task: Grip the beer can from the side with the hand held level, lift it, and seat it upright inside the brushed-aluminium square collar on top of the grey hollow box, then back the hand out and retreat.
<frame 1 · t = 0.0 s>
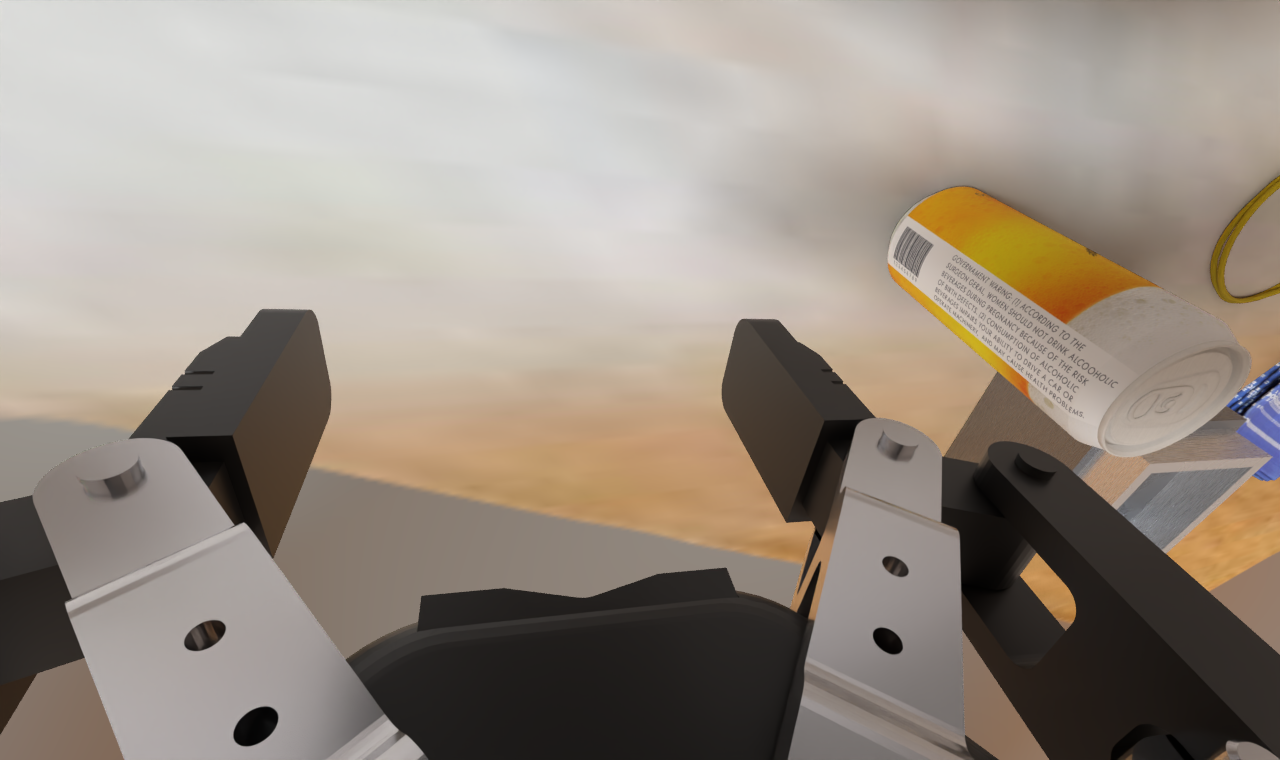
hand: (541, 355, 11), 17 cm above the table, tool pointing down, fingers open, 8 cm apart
beer can: (928, 233, 32), on the table
grey hollow box: (1034, 406, 44), on the table
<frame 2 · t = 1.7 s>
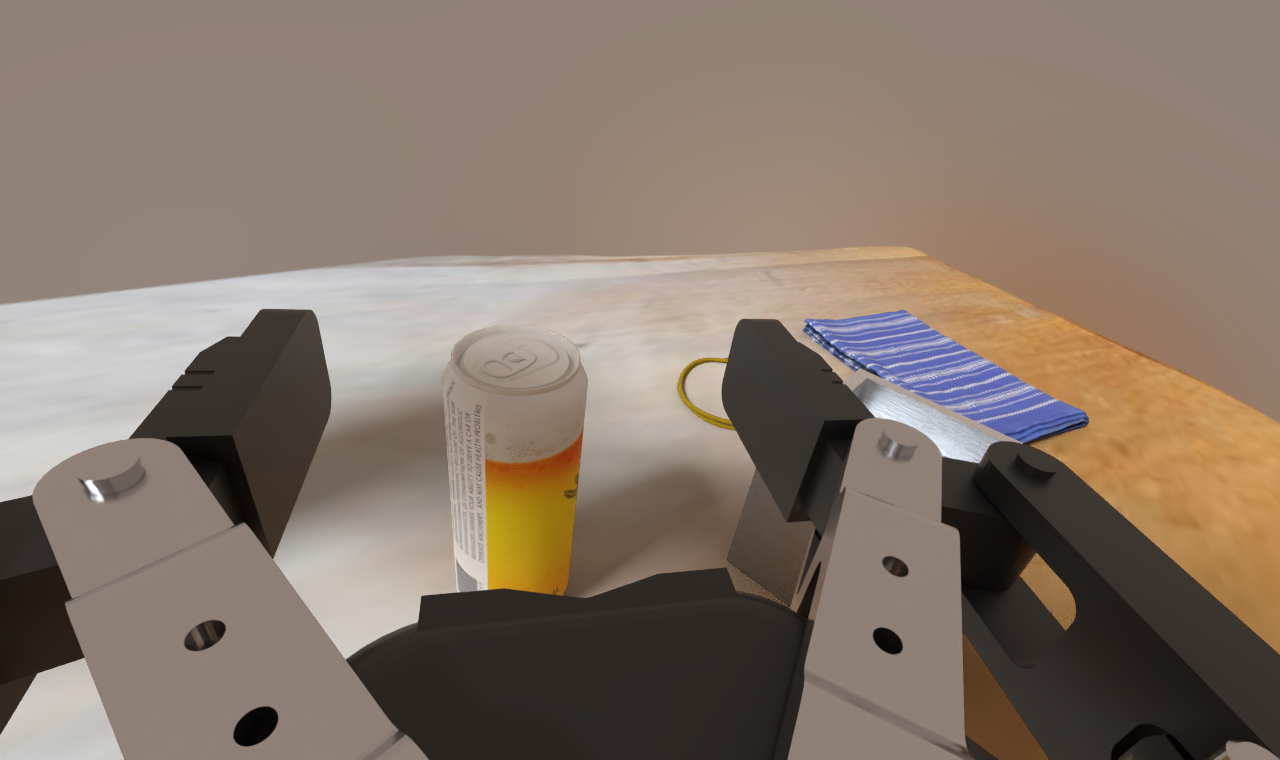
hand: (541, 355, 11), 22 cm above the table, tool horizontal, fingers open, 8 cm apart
beer can: (513, 585, 32), on the table
dish towel: (928, 381, 60), on the table
extension cord: (749, 393, 53), on the table
grey hollow box: (845, 564, 36), on the table
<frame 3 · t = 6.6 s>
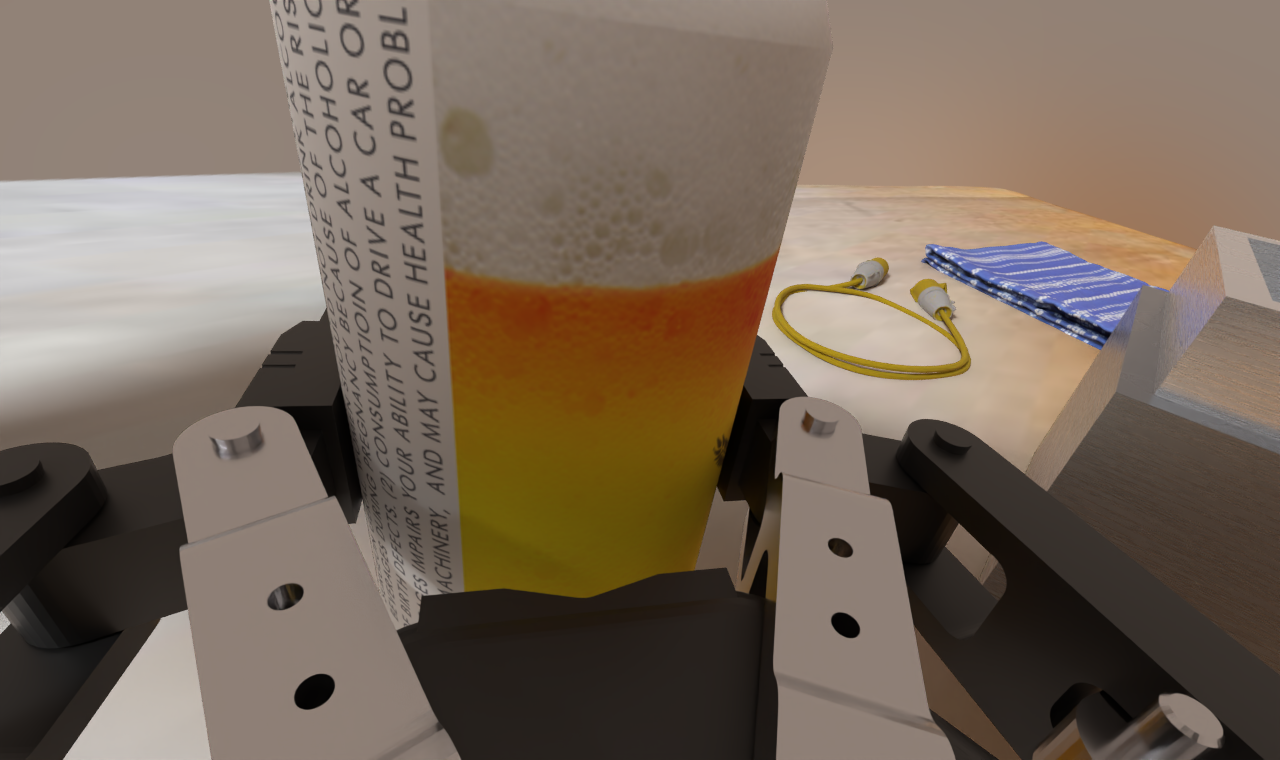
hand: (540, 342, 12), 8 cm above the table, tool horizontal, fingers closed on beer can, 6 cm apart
beer can: (536, 679, 14), on the table, touching gripper
dish towel: (1115, 324, 42), on the table
extension cord: (875, 331, 35), on the table
grey hollow box: (1188, 613, 18), on the table
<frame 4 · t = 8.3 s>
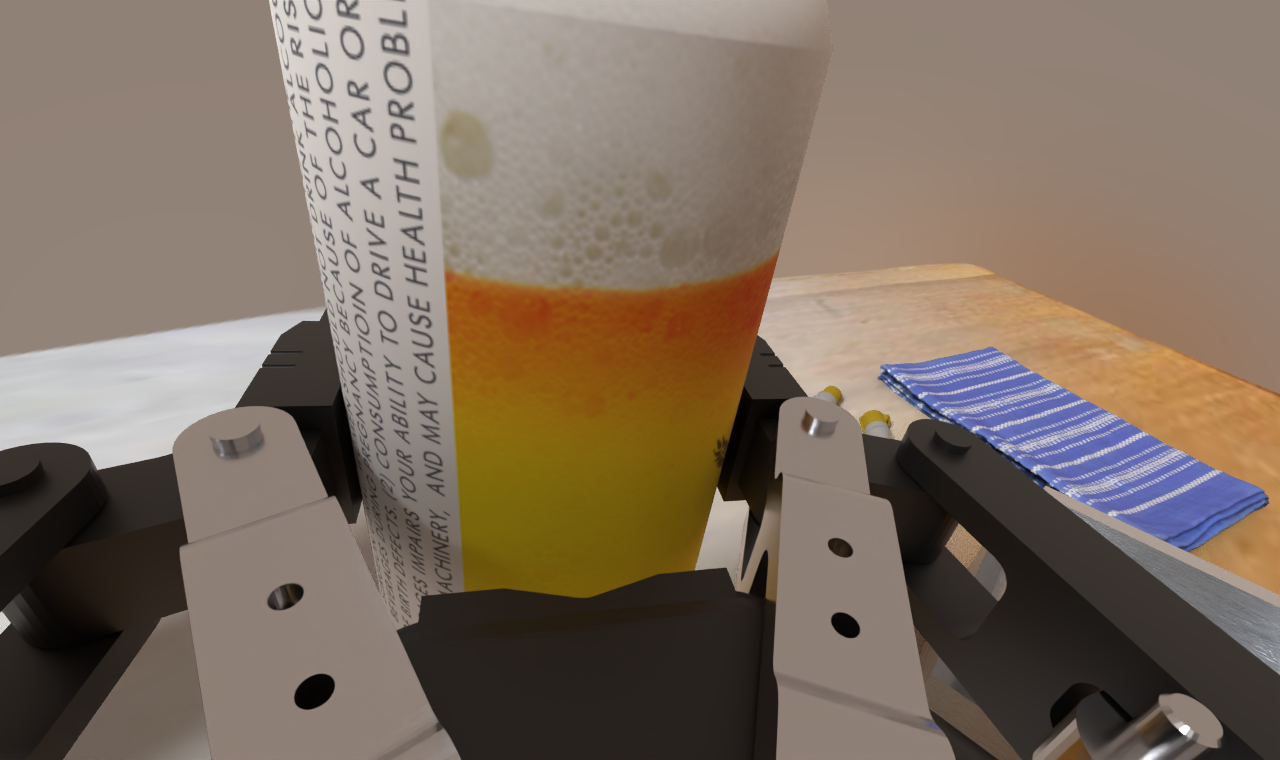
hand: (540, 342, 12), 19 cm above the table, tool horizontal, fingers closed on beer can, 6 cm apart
beer can: (536, 679, 14), point 11 cm above the table, touching gripper
dish towel: (1044, 443, 48), on the table
extension cord: (824, 468, 41), on the table
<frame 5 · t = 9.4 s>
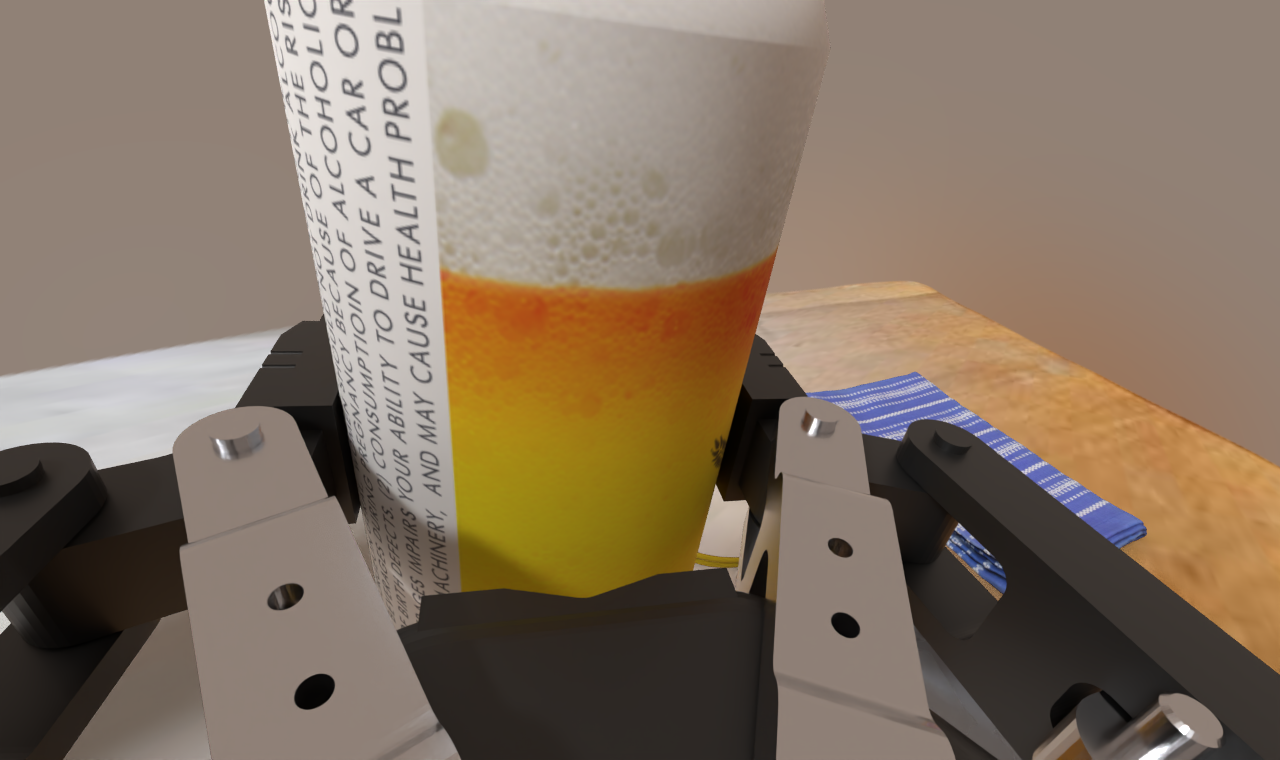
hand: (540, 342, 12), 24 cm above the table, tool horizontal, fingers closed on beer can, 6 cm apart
beer can: (535, 680, 14), point 16 cm above the table, touching gripper
dish towel: (949, 472, 50), on the table
extension cord: (730, 499, 44), on the table
when the fingers open (17 cm above the table, at t = 12.4 s): beer can drops 1 cm, resting on grey hollow box.
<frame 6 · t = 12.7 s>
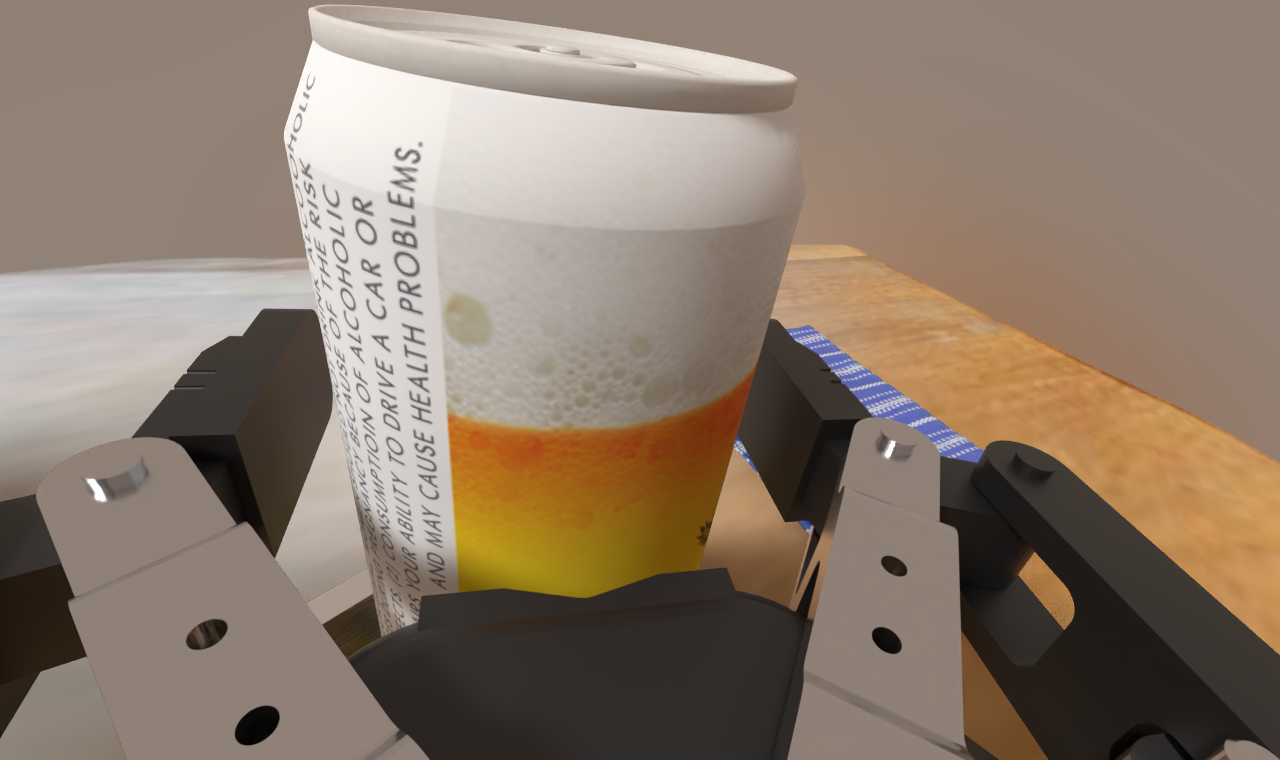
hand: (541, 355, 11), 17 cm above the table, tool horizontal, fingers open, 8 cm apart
beer can: (532, 716, 15), point 8 cm above the table, touching grey hollow box
dish towel: (819, 428, 43), on the table
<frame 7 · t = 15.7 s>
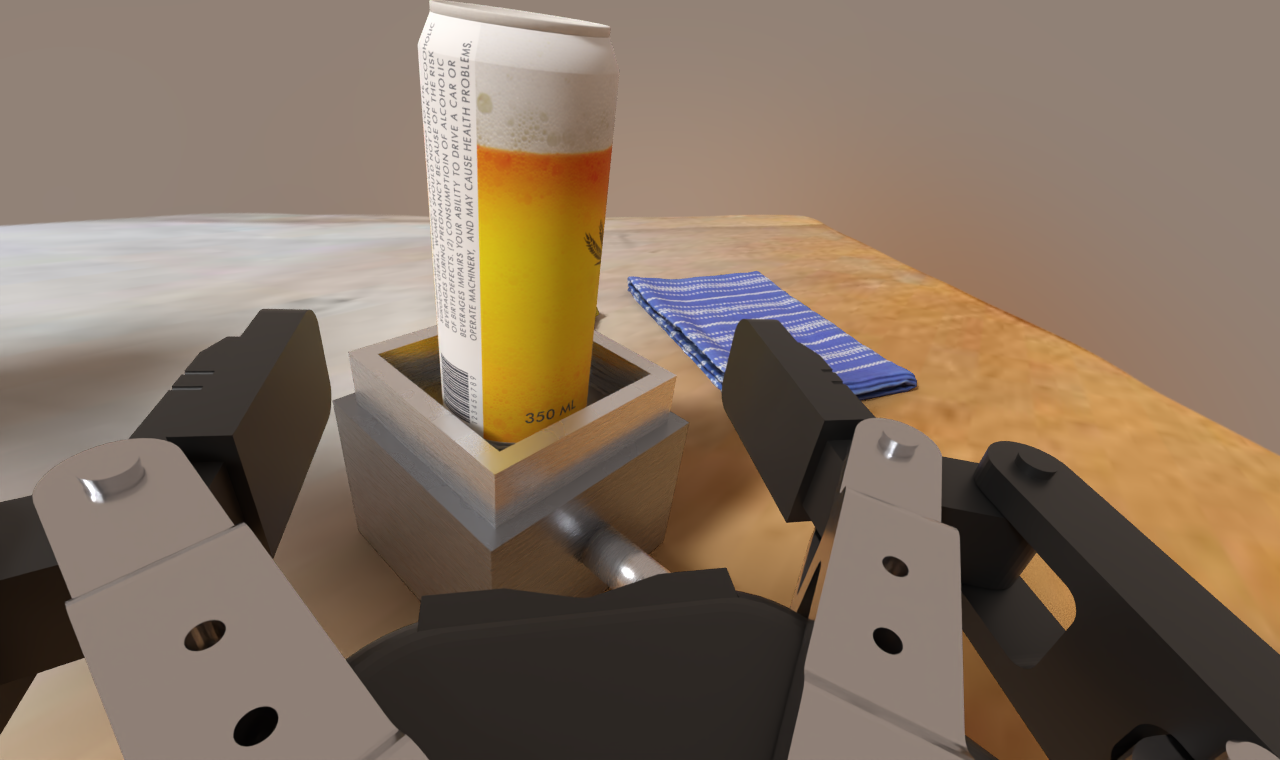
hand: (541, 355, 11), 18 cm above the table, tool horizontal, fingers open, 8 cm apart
beer can: (516, 417, 25), point 8 cm above the table, touching grey hollow box
dish towel: (755, 342, 53), on the table
grey hollow box: (515, 536, 30), on the table
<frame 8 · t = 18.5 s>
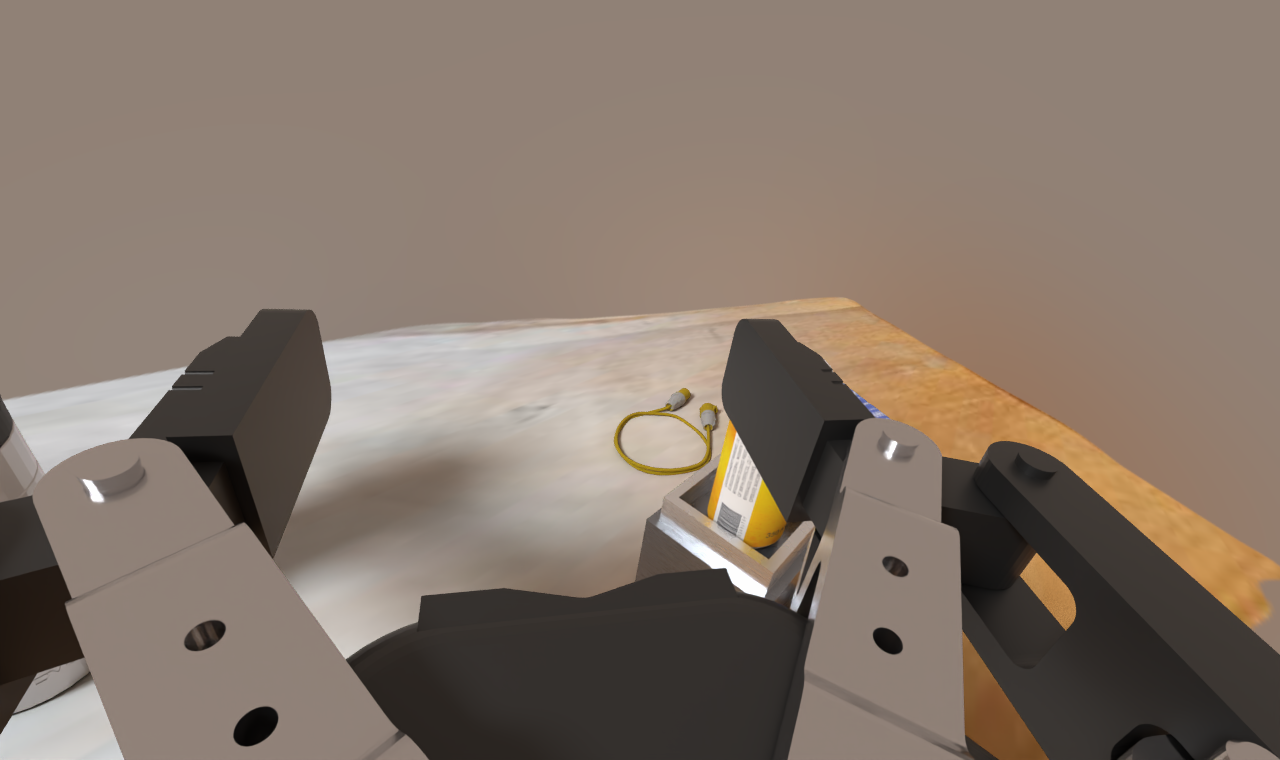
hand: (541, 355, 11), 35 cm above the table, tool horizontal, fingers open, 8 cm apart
beer can: (742, 526, 45), point 8 cm above the table, touching grey hollow box
extension cord: (671, 439, 68), on the table
grey hollow box: (722, 587, 50), on the table
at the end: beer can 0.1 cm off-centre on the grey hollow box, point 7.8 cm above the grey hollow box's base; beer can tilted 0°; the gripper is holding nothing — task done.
